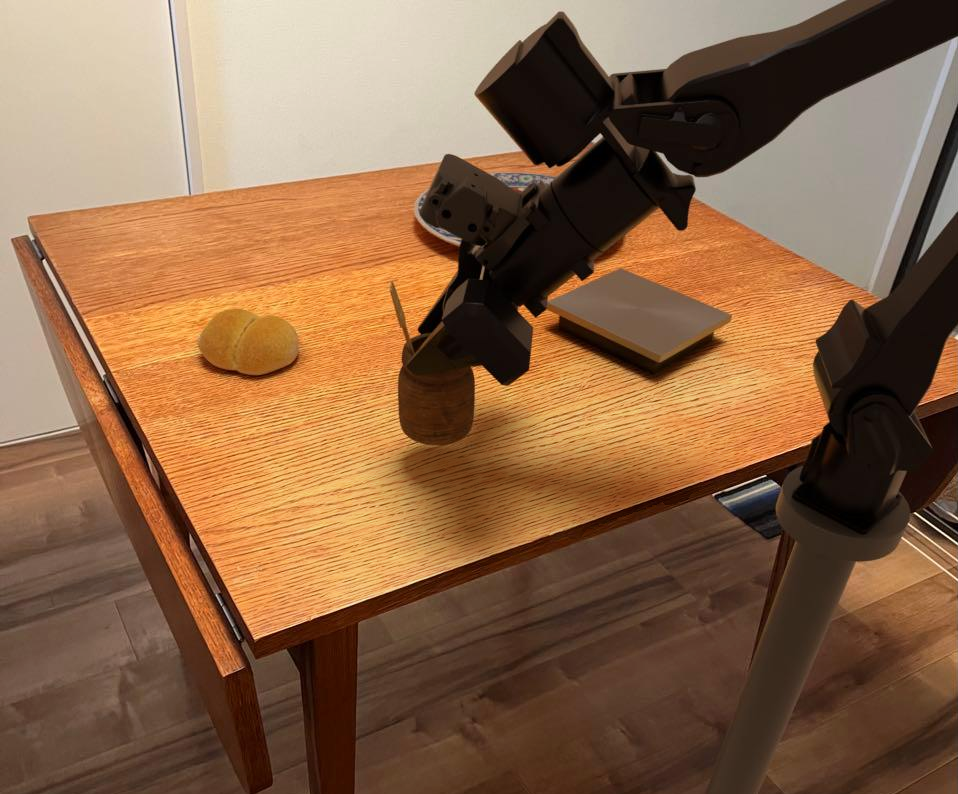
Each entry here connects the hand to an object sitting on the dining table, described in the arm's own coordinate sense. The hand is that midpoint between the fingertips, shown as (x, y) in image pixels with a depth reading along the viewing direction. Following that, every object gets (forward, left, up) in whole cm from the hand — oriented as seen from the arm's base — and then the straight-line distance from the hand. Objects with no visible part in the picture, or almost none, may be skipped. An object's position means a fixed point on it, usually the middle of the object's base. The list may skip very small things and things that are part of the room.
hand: (416, 351), depth 68 cm
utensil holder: (-1, -1, -7) cm, 7 cm away
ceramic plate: (+27, -42, -10) cm, 51 cm away
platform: (+1, -31, -10) cm, 32 cm away
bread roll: (+23, 0, -10) cm, 25 cm away
